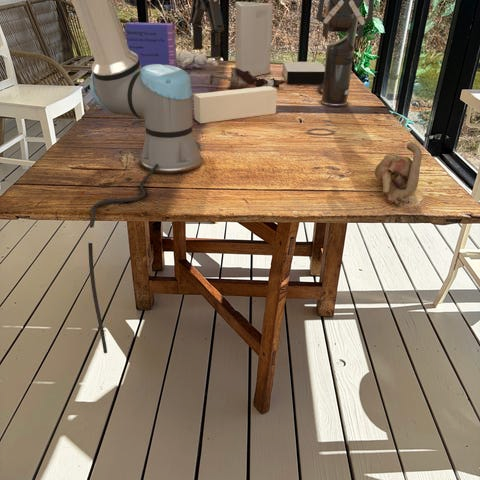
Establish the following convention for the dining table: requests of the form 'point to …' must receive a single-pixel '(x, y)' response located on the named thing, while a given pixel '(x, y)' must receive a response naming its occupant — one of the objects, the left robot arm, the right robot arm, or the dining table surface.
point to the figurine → (246, 79)
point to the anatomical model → (399, 174)
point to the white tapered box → (253, 37)
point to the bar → (234, 104)
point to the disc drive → (303, 72)
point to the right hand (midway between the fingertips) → (341, 39)
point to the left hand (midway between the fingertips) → (206, 53)
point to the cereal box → (152, 42)
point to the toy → (193, 59)
